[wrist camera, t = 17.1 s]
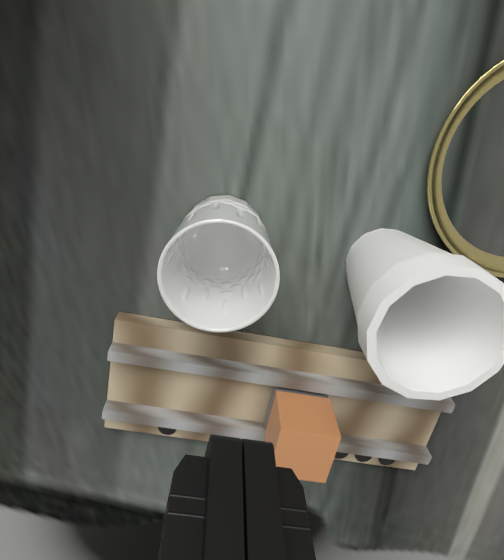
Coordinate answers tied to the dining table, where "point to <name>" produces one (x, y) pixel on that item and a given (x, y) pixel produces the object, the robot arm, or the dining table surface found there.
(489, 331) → the foam cup
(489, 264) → the gold oval ring
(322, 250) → the dining table surface
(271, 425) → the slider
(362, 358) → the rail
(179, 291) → the white cup
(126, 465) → the dining table surface
